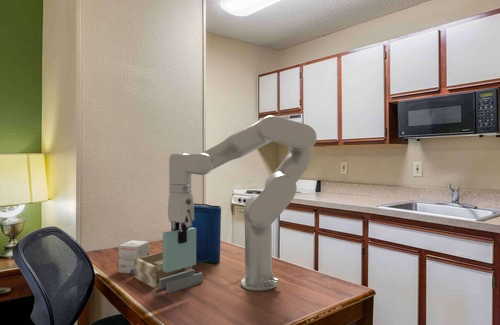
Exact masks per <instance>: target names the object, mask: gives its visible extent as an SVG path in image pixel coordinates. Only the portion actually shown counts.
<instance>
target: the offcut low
mask: <svg viewBox="0 0 500 325" xmlns="http://www.w3.org/2000/svg"><path fill="white" fill-rule="evenodd" d="M181 272H182V269H178V270H175V271H171V272H167V273H166V272H161V273H158V272H156V283H159V279H161V278H164V277H168V276H171V275H174V274H178V273H181Z"/></svg>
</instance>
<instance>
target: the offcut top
mask: <svg viewBox="0 0 500 325" xmlns="http://www.w3.org/2000/svg"><path fill="white" fill-rule="evenodd" d="M153 265H154V266H156V272H158V273H161V272H164V271H163V260H161V261H157V262H153Z"/></svg>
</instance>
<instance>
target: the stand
mask: <svg viewBox="0 0 500 325" xmlns="http://www.w3.org/2000/svg"><path fill="white" fill-rule="evenodd" d="M200 283H201V284H202V283H204V273H203V272H201V271H200V272H198V273H196V270H195V269H194V268H192V269H191V270H188V271H185V272H181V273H178V274H174V275H171V276H168V277H164V278H161V279H159V286H158V289H159V290H164V289H166V290H165V292H166V293H167V294H168V295H169V294H171V293H174V292H177V291H180V290H184V289H186V288H190V287H192V286H193V287H194V286H195V285H198V284H200Z"/></svg>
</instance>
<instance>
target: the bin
mask: <svg viewBox="0 0 500 325" xmlns="http://www.w3.org/2000/svg"><path fill="white" fill-rule="evenodd" d="M161 260H163V251H161V252H156V253H152V254H149V255H147V256H143V257H139V258H134V278H135V279H136V280H138V281H141V282H142V283H143V284H146V285H148V286H150V287H152V288H153V289H154V288H158V287H159V283H156V266H154V265H153V262H157V261H161ZM191 269H193V266H189V267H186V268H182V272H185V271H188V270H191Z"/></svg>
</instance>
